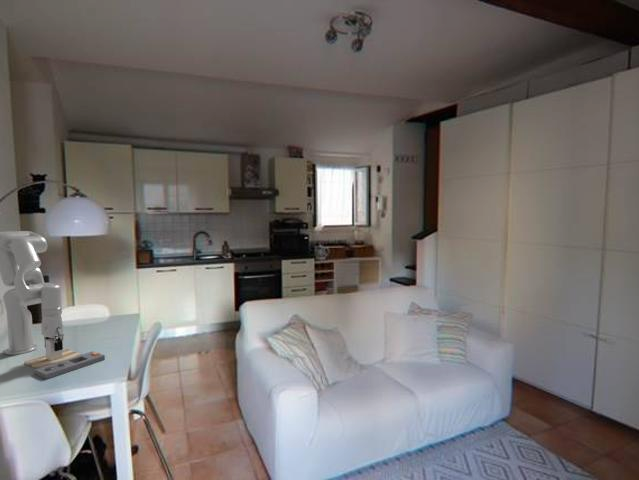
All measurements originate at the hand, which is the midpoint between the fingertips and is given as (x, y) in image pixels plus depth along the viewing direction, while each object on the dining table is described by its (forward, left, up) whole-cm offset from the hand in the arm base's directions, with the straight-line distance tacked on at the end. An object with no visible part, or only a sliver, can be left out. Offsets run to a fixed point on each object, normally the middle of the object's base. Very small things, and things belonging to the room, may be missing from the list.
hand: (53, 348), depth 171 cm
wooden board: (0, 0, -5) cm, 5 cm away
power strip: (+15, 0, -5) cm, 16 cm away
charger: (0, 0, -5) cm, 5 cm away
